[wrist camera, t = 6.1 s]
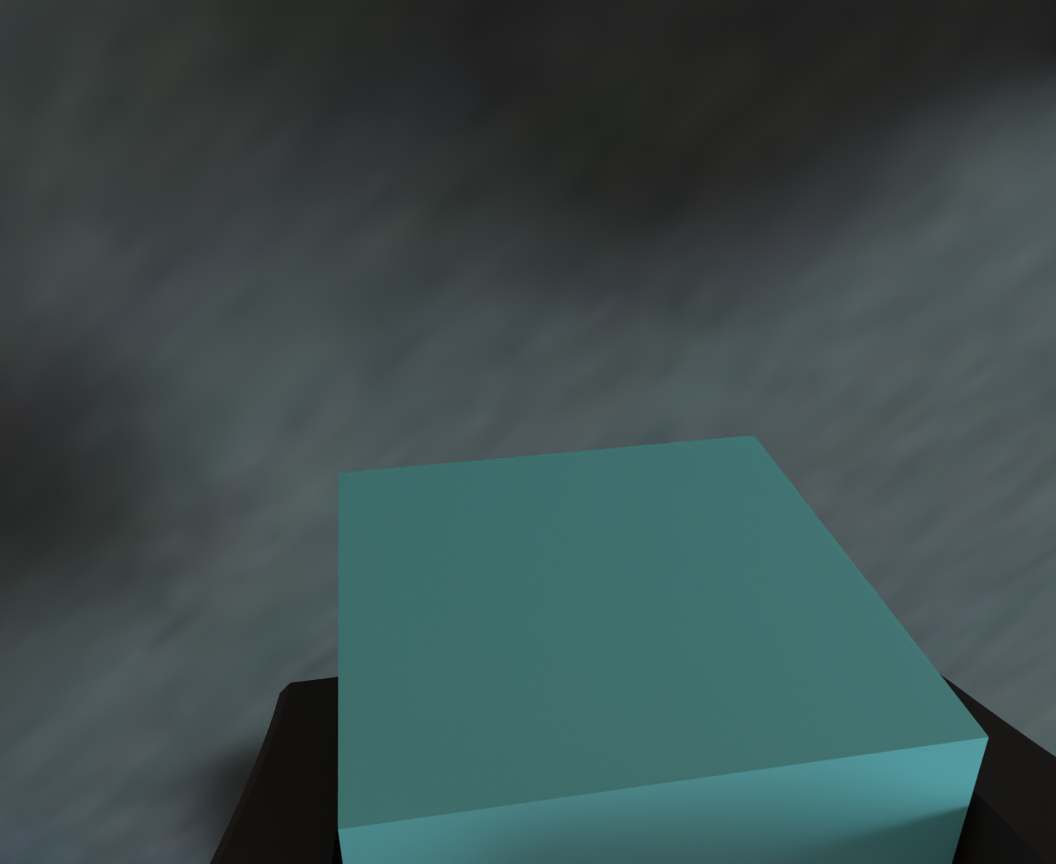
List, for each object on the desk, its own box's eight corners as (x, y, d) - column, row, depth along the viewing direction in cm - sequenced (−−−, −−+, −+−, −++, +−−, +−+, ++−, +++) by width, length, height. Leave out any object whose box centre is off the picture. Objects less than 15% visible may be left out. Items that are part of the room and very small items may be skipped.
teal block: (753, 435, 11) (988, 737, 7) (719, 735, 13) (883, 1095, 9) (338, 473, 10) (339, 830, 6) (374, 781, 12) (390, 1192, 8)
